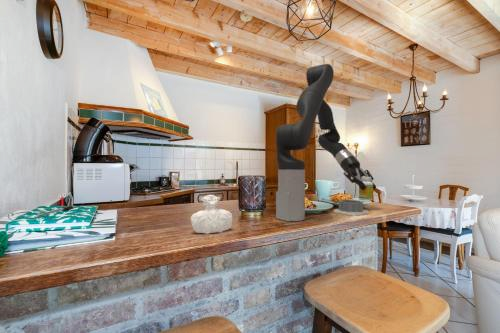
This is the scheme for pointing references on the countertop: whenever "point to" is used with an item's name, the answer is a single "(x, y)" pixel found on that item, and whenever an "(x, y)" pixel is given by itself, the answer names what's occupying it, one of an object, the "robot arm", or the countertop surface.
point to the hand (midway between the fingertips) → (369, 188)
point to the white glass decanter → (211, 217)
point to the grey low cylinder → (351, 207)
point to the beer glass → (368, 192)
